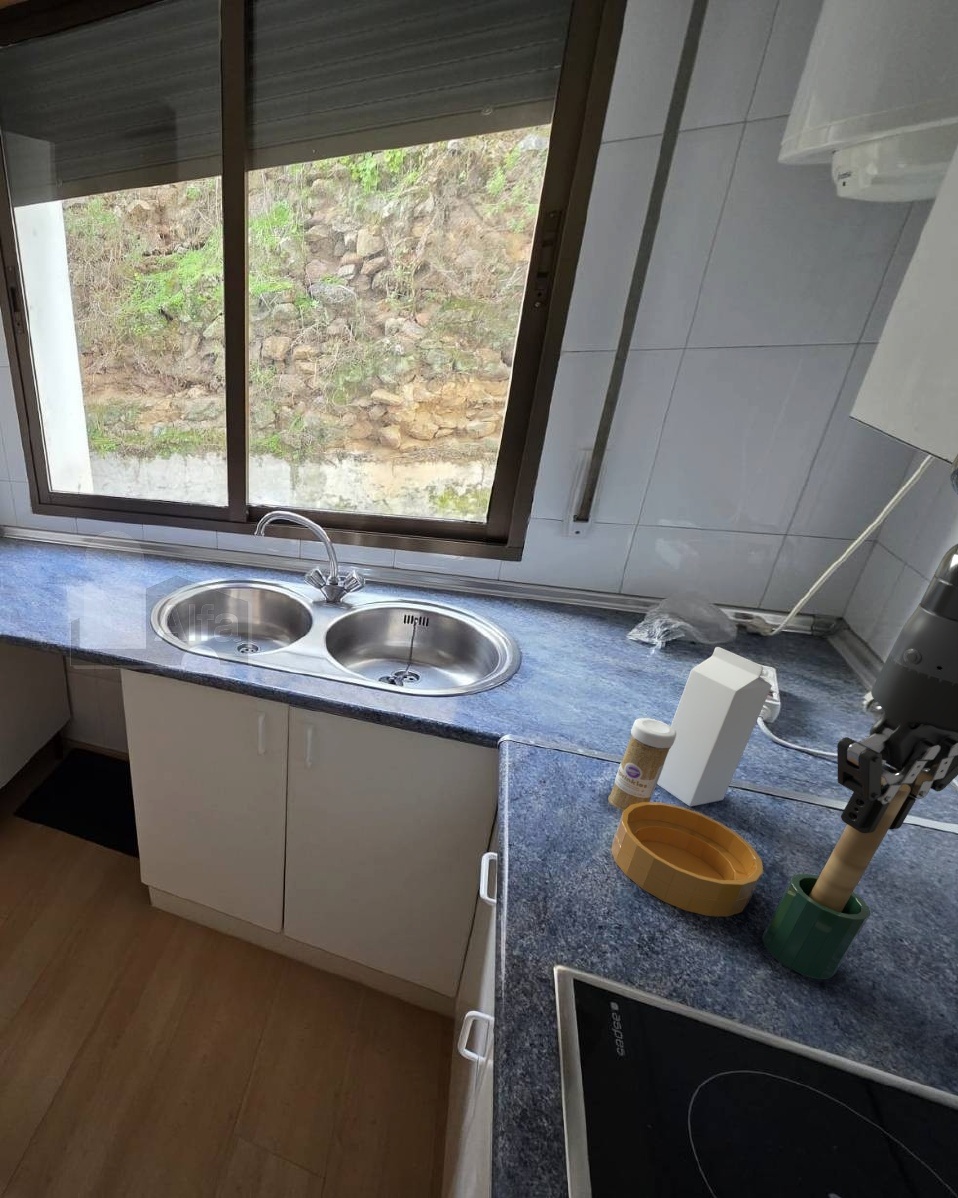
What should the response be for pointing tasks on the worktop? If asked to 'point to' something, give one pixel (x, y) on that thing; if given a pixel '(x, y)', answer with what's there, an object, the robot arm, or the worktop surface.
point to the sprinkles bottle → (642, 762)
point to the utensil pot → (812, 930)
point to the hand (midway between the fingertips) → (868, 824)
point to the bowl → (686, 858)
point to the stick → (853, 857)
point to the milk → (713, 727)
